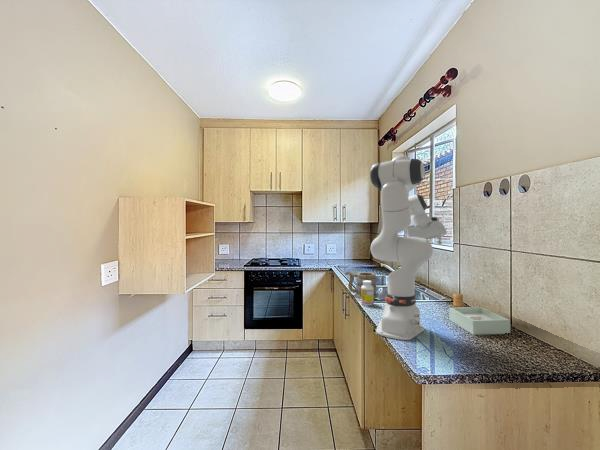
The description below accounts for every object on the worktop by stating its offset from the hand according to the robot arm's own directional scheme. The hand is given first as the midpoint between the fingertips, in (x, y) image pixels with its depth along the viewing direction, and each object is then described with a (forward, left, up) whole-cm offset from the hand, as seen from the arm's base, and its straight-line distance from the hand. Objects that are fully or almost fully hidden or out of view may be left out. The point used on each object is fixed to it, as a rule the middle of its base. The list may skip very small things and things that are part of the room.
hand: (431, 246), depth 153 cm
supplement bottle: (-11, +31, -32) cm, 46 cm away
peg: (-7, -13, -32) cm, 35 cm away
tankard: (+4, +41, -32) cm, 53 cm away
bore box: (-19, -21, -32) cm, 43 cm away
